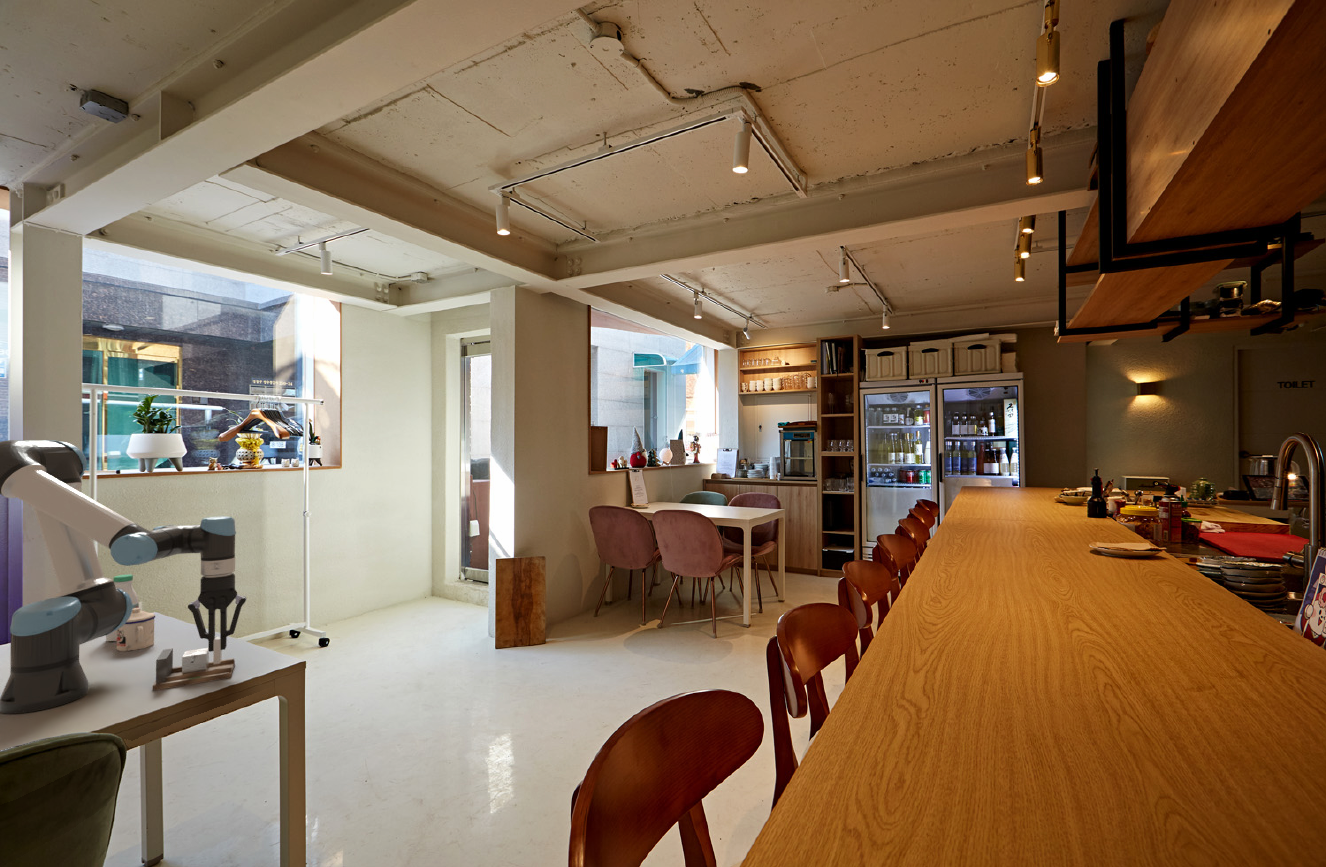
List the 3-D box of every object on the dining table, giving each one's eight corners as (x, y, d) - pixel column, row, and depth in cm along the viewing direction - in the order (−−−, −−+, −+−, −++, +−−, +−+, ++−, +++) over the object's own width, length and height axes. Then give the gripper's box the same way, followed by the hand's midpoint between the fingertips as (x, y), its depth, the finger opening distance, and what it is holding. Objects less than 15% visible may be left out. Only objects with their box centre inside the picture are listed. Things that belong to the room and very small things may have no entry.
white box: (179, 680, 153) (179, 661, 153) (185, 669, 161) (185, 651, 161) (204, 676, 156) (204, 657, 156) (208, 666, 163) (208, 647, 163)
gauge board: (152, 690, 151) (152, 661, 151) (161, 676, 160) (161, 648, 160) (230, 677, 159) (231, 650, 159) (234, 664, 169) (235, 638, 169)
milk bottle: (109, 644, 186) (110, 579, 187) (103, 639, 191) (104, 576, 192) (141, 637, 193) (142, 575, 193) (134, 633, 197) (135, 572, 198)
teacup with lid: (112, 647, 183) (113, 609, 183) (151, 640, 190) (151, 603, 190) (120, 656, 176) (121, 616, 176) (160, 648, 183) (161, 609, 183)
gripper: (185, 580, 156) (184, 671, 156) (246, 574, 163) (245, 662, 162) (189, 574, 162) (189, 662, 162) (248, 569, 169) (247, 653, 169)
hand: (217, 662), depth 162 cm, fingers closed
